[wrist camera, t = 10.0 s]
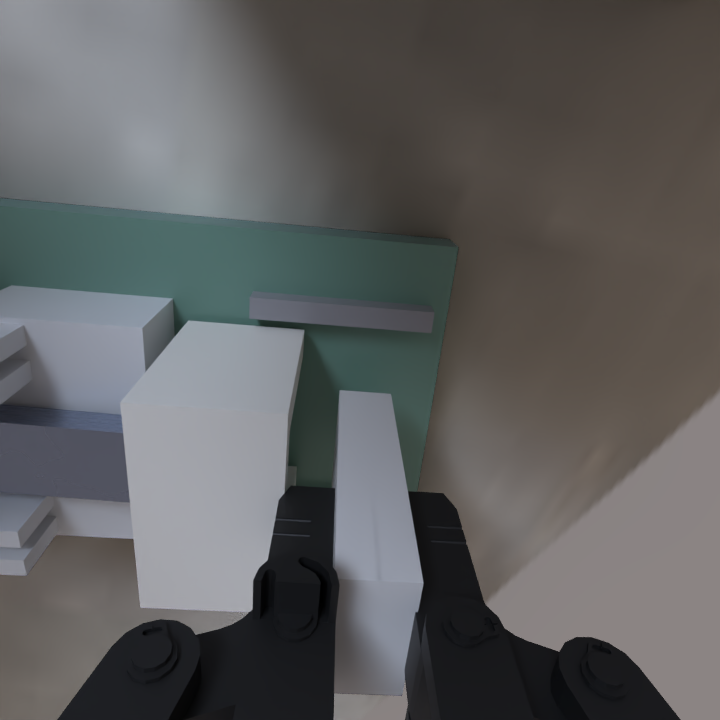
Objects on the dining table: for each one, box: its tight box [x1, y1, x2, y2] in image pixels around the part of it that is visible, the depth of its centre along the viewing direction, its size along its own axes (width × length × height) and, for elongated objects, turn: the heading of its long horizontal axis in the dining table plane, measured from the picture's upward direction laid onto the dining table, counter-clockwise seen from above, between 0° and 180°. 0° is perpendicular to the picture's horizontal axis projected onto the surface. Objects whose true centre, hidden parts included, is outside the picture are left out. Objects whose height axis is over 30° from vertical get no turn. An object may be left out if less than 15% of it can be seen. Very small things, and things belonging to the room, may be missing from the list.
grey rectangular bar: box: [0, 404, 130, 503], centre depth 13 cm, size 9×3×1 cm, turn 84°
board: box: [0, 198, 459, 576], centre depth 14 cm, size 15×11×5 cm
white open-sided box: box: [120, 320, 304, 612], centre depth 13 cm, size 3×5×5 cm, turn 175°
